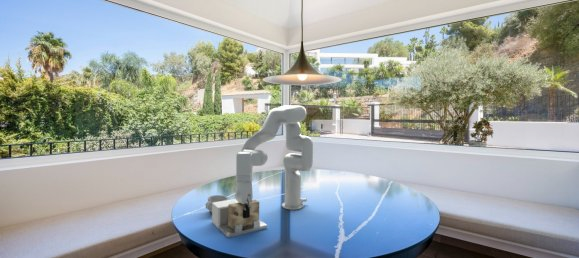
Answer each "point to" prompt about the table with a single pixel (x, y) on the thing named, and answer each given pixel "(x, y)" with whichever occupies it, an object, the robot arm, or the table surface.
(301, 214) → the table surface
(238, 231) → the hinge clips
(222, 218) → the cabinet
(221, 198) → the teacup
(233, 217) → the door
